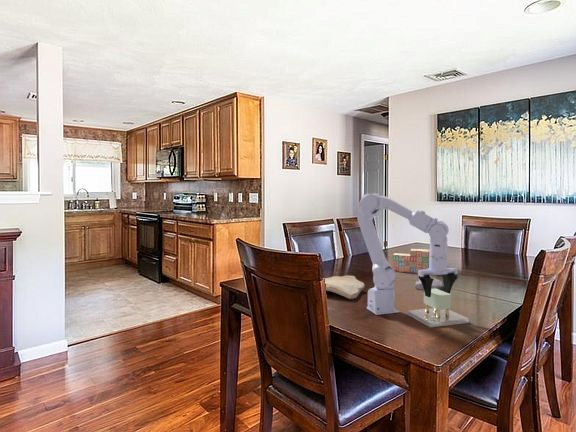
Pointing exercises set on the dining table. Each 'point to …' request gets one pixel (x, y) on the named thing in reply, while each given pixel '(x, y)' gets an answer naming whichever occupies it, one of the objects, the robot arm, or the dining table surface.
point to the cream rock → (344, 286)
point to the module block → (438, 299)
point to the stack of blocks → (411, 261)
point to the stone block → (435, 284)
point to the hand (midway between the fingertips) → (437, 295)
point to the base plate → (437, 317)
